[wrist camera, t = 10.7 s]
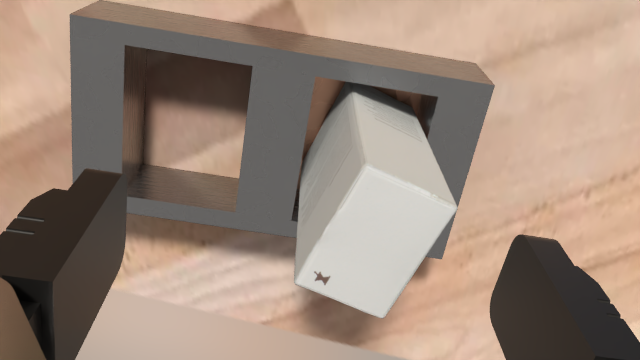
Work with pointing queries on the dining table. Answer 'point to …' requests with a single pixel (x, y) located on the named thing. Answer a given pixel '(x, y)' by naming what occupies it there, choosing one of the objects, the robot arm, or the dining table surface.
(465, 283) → the dining table surface
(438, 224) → the skincare box
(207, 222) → the holder
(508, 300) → the robot arm
